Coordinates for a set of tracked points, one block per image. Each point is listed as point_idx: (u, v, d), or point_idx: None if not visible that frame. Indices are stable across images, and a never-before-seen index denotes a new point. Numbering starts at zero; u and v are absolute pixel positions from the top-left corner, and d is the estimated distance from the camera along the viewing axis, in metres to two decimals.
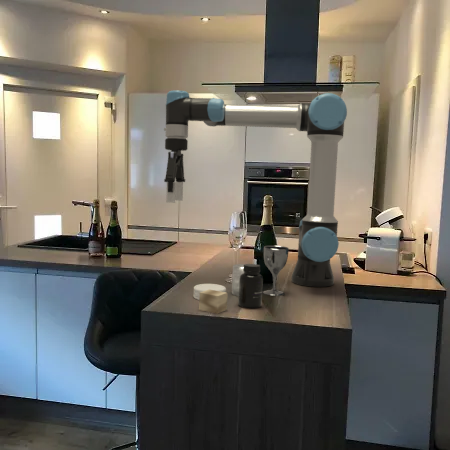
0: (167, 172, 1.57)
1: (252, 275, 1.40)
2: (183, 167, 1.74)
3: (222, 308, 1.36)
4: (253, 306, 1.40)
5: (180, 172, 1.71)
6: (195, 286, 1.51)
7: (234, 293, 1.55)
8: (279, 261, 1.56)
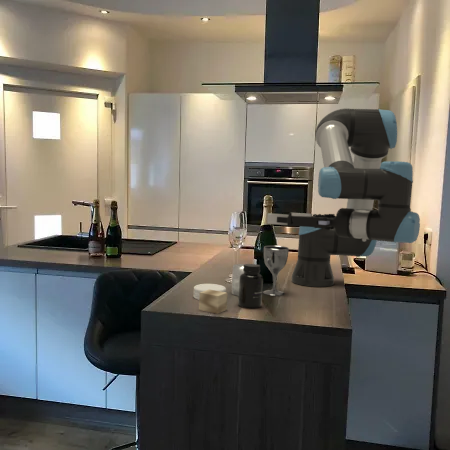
0: None
1: (252, 275, 1.40)
2: (306, 217, 1.23)
3: (222, 308, 1.36)
4: (253, 306, 1.40)
5: None
6: (195, 286, 1.51)
7: (234, 293, 1.55)
8: (279, 261, 1.56)
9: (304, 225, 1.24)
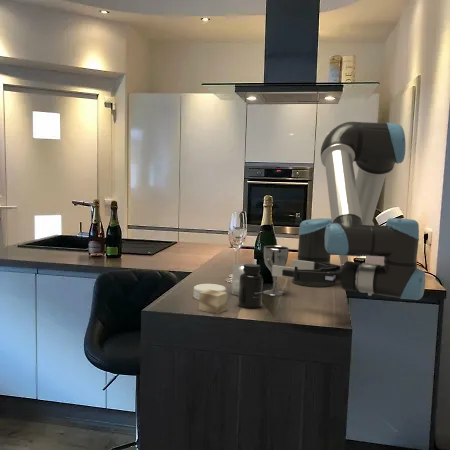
0: None
1: (252, 275, 1.40)
2: (313, 272, 1.23)
3: (222, 308, 1.36)
4: (253, 306, 1.40)
5: None
6: (195, 286, 1.51)
7: (234, 293, 1.55)
8: (279, 261, 1.56)
9: (311, 280, 1.23)
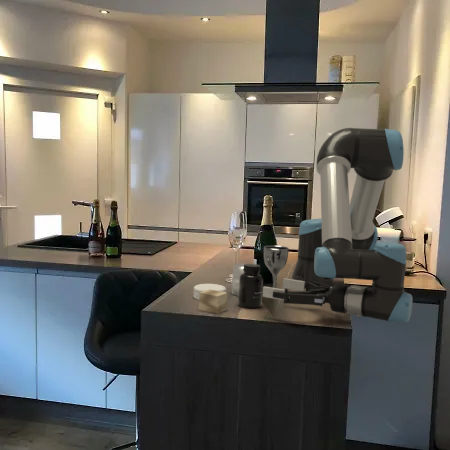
0: None
1: (252, 275, 1.40)
2: (302, 294, 1.25)
3: (222, 308, 1.35)
4: (253, 306, 1.40)
5: None
6: (195, 286, 1.51)
7: (234, 293, 1.55)
8: (279, 261, 1.56)
9: (300, 303, 1.26)
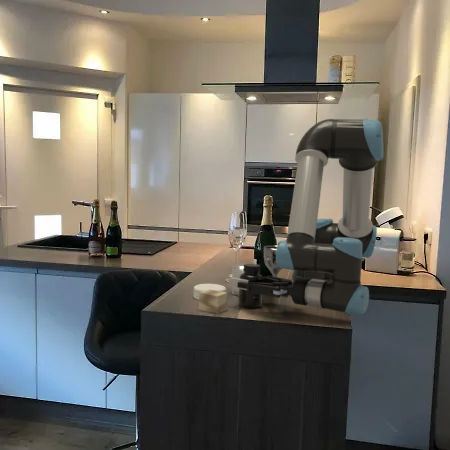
0: None
1: (252, 275, 1.40)
2: (262, 285, 1.33)
3: (222, 308, 1.35)
4: (253, 306, 1.40)
5: None
6: (195, 286, 1.51)
7: (235, 293, 1.55)
8: None
9: (260, 293, 1.34)
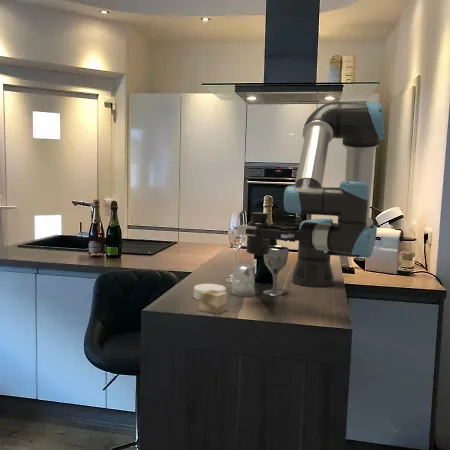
0: None
1: (260, 222, 1.43)
2: (270, 230, 1.36)
3: (222, 308, 1.35)
4: (261, 252, 1.43)
5: None
6: (195, 286, 1.51)
7: (236, 293, 1.54)
8: (279, 261, 1.56)
9: (268, 237, 1.37)
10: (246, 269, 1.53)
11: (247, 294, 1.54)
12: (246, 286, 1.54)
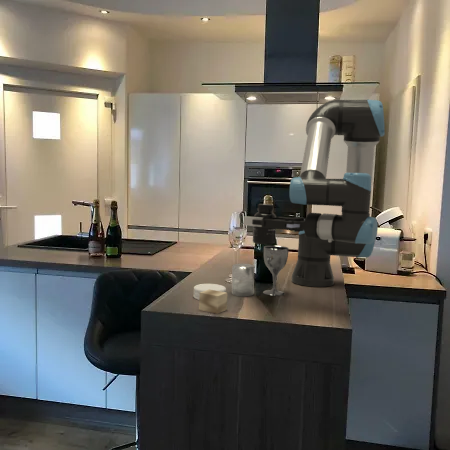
0: None
1: (266, 213, 1.48)
2: (276, 220, 1.41)
3: (222, 308, 1.35)
4: (267, 242, 1.48)
5: None
6: (195, 286, 1.51)
7: (237, 294, 1.54)
8: (279, 261, 1.56)
9: (274, 227, 1.42)
10: (245, 269, 1.53)
11: (248, 294, 1.54)
12: (246, 286, 1.54)
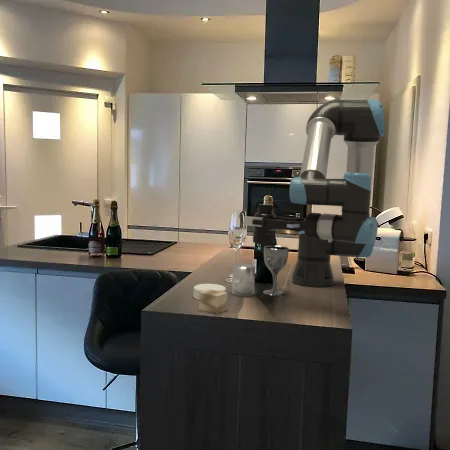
0: None
1: (266, 213, 1.48)
2: (276, 220, 1.41)
3: (222, 308, 1.35)
4: (267, 242, 1.48)
5: None
6: (195, 286, 1.51)
7: (237, 294, 1.54)
8: (279, 261, 1.56)
9: (274, 227, 1.42)
10: (247, 269, 1.53)
11: (248, 294, 1.54)
12: (247, 286, 1.54)
